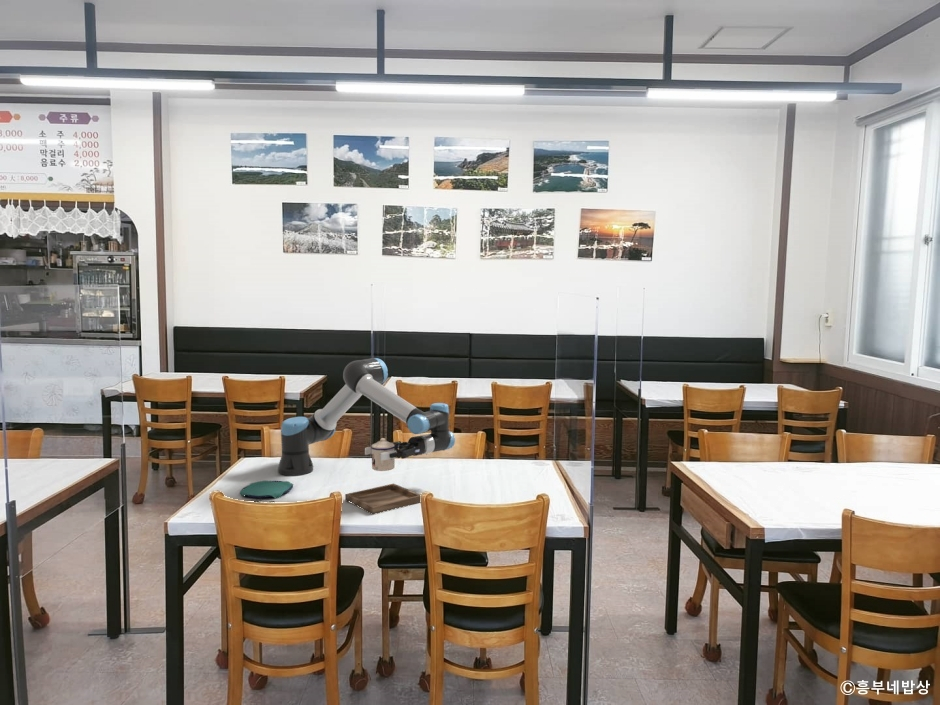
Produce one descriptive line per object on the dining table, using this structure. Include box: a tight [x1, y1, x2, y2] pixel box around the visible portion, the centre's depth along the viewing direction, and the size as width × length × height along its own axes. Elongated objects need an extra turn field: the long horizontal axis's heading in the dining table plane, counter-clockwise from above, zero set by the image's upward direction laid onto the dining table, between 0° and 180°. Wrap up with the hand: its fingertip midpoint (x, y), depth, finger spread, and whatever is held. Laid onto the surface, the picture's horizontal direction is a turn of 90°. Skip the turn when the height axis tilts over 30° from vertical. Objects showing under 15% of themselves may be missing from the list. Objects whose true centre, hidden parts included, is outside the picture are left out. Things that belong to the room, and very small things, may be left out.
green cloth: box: [239, 480, 294, 503], centre depth 250 cm, size 20×30×2 cm, turn 174°
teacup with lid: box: [370, 437, 396, 472], centre depth 244 cm, size 12×9×12 cm
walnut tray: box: [344, 483, 421, 515], centre depth 244 cm, size 20×22×2 cm
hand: (373, 454), depth 242 cm, fingers closed on teacup with lid, 10 cm apart
